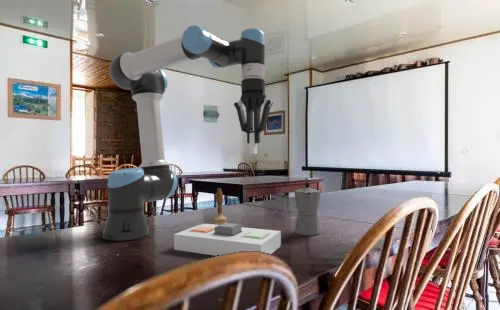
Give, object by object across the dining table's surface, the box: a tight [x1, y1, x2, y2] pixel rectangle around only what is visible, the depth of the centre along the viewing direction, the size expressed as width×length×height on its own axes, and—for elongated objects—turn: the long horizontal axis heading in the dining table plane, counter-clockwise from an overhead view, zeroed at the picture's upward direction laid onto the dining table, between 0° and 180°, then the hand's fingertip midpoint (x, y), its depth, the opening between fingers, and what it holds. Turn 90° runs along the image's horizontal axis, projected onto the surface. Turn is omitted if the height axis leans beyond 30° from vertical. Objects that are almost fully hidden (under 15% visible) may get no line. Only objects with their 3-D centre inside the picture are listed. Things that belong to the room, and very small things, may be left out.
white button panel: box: [173, 223, 282, 257], centre depth 96 cm, size 28×16×5 cm, turn 66°
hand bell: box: [212, 187, 228, 225], centre depth 115 cm, size 8×8×16 cm
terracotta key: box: [190, 226, 215, 233], centre depth 99 cm, size 6×6×3 cm
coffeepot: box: [293, 182, 322, 236], centre depth 115 cm, size 15×9×18 cm, turn 174°
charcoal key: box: [215, 222, 242, 236], centre depth 96 cm, size 6×6×3 cm
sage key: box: [242, 232, 269, 240], centre depth 92 cm, size 6×6×3 cm
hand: (253, 153), depth 101 cm, fingers closed
